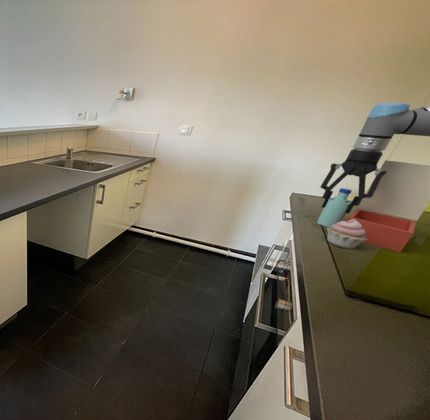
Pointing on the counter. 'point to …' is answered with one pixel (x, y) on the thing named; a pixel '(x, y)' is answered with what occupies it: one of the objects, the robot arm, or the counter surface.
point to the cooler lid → (401, 190)
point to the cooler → (384, 229)
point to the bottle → (335, 209)
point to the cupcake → (346, 234)
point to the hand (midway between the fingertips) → (335, 209)
